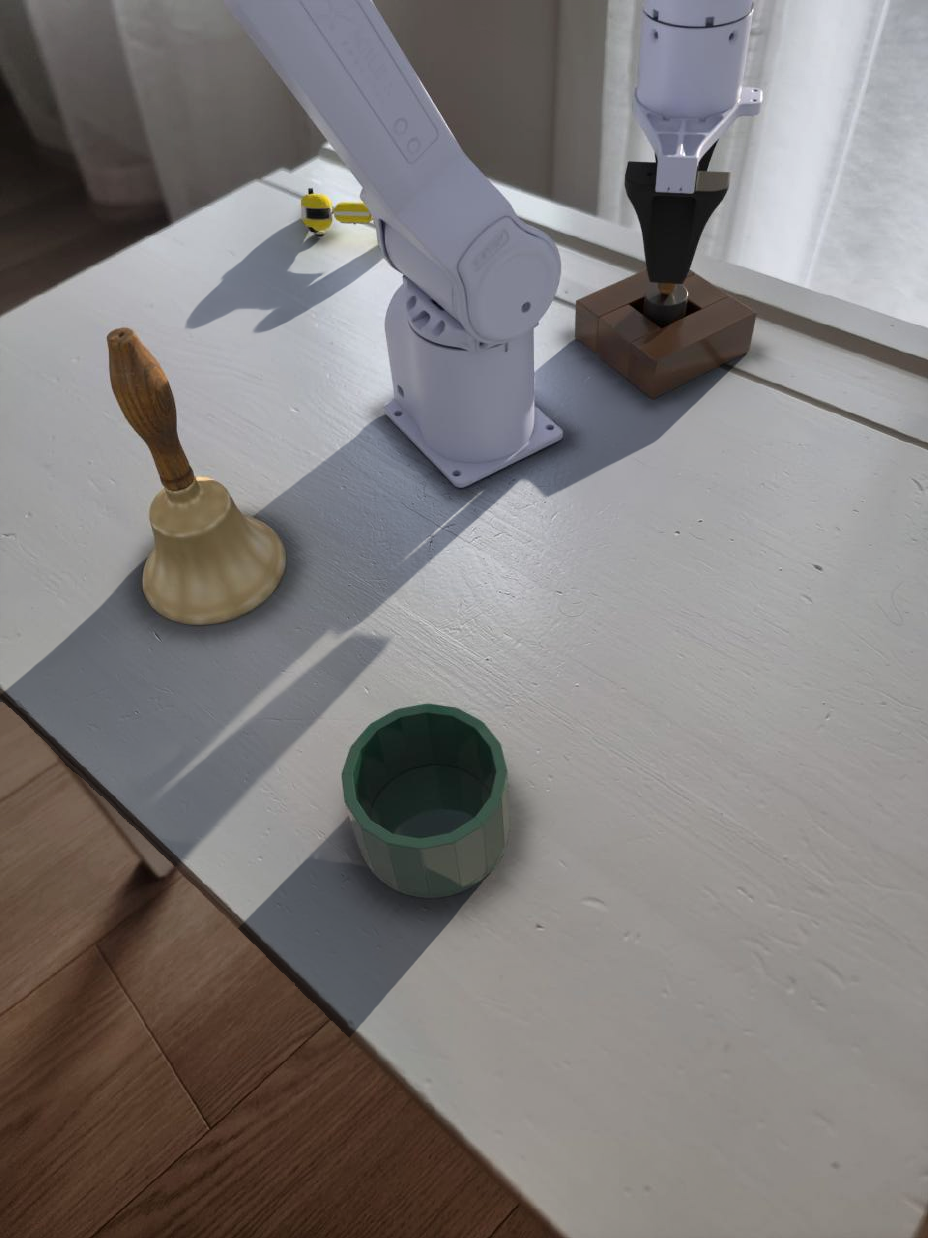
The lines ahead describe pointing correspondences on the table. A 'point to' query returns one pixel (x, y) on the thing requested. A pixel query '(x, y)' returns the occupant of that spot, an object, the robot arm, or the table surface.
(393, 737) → the cup
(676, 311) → the peg-topped grey cylinder
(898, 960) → the table surface
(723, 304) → the frame
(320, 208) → the yellow segmented toy
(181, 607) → the hand bell
